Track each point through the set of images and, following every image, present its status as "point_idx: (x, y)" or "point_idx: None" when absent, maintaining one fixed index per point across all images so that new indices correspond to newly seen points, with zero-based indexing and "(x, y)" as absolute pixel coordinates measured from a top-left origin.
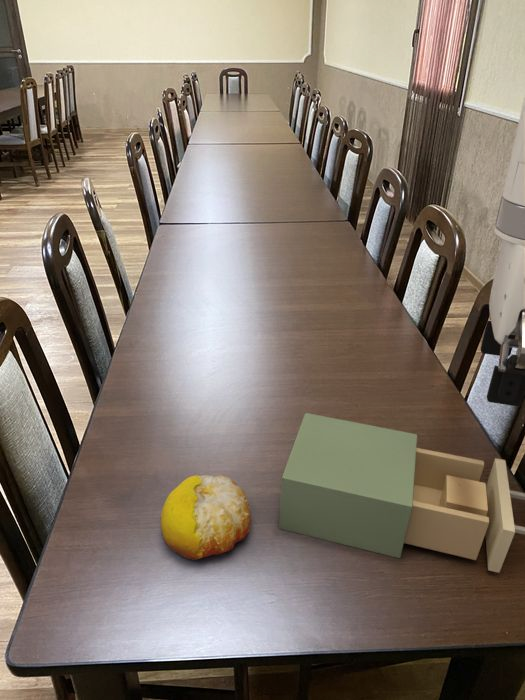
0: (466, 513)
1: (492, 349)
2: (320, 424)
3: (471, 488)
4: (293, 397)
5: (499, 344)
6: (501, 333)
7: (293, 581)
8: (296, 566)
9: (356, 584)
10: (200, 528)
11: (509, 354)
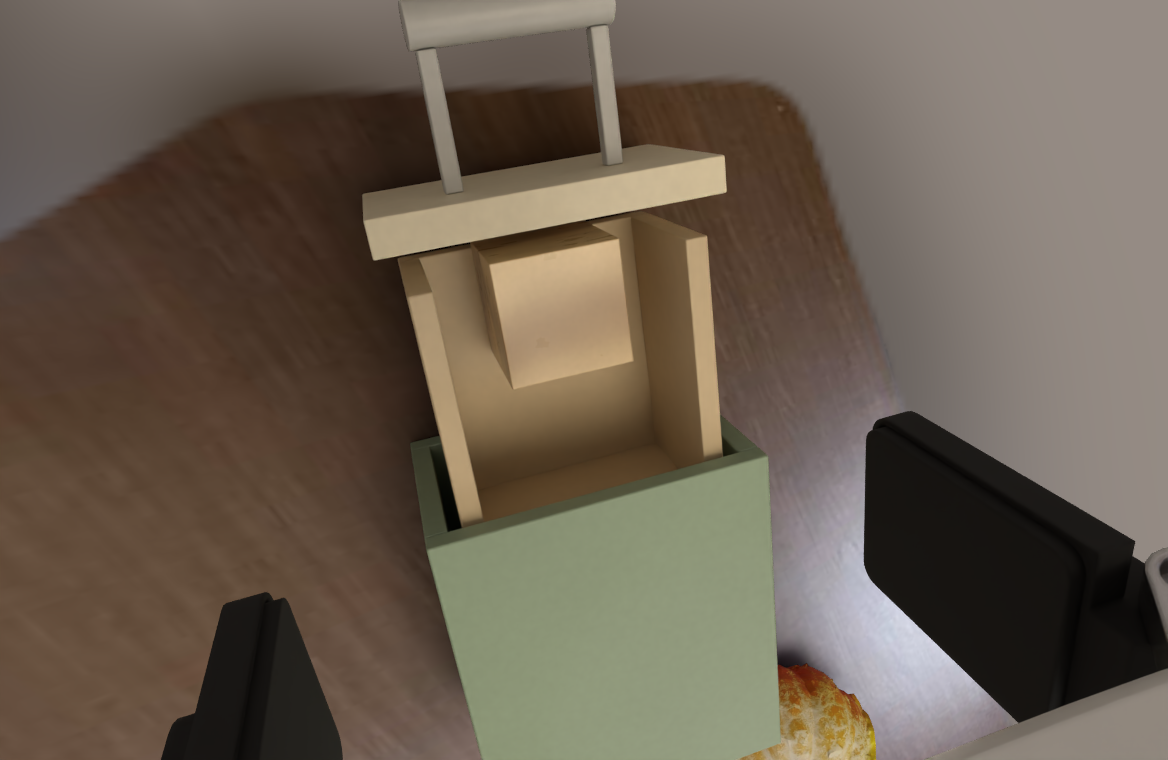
0: (698, 306)
1: (321, 730)
2: None
3: (541, 304)
4: None
5: (304, 743)
6: None
7: (805, 536)
8: (772, 547)
9: (772, 434)
10: (866, 750)
11: (284, 605)
